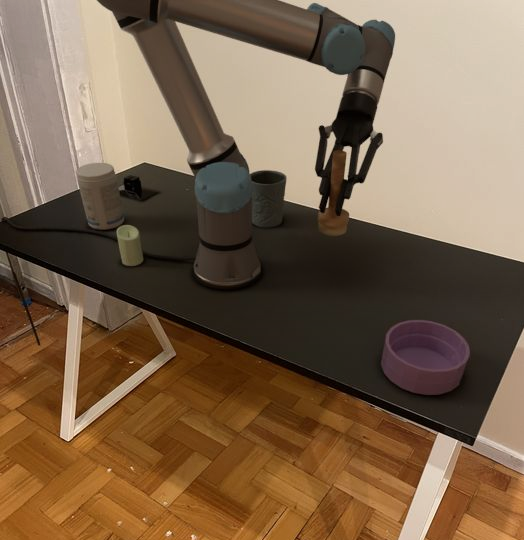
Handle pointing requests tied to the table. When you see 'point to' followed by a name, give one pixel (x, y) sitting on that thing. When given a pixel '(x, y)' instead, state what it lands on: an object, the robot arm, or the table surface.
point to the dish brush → (334, 200)
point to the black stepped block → (134, 189)
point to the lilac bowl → (424, 357)
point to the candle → (129, 245)
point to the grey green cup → (267, 197)
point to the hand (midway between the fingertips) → (329, 211)
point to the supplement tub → (100, 195)
